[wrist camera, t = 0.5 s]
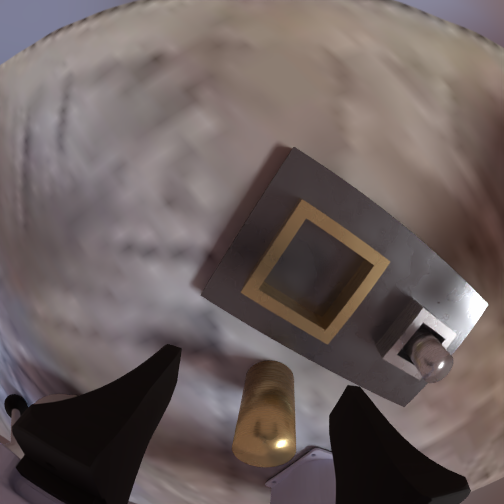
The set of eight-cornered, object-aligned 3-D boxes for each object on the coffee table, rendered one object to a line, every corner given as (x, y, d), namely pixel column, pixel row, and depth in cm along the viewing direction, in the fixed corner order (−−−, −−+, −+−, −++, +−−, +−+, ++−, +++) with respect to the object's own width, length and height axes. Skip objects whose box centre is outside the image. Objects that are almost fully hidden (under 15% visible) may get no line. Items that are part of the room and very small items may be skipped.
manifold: (401, 400, 22) (420, 443, 17) (203, 290, 22) (178, 326, 16) (482, 300, 20) (521, 327, 14) (293, 148, 19) (298, 133, 13)
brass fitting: (276, 403, 23) (272, 472, 16) (237, 383, 23) (220, 452, 16) (303, 374, 23) (308, 445, 15) (262, 352, 22) (253, 422, 15)
